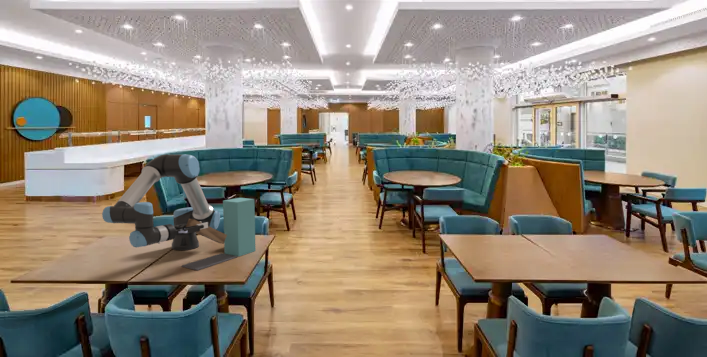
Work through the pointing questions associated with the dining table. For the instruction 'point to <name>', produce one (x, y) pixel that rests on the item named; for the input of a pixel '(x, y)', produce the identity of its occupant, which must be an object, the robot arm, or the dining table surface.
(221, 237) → the walnut rail
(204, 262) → the charcoal mat
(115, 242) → the dining table surface
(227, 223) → the teal pedestal
